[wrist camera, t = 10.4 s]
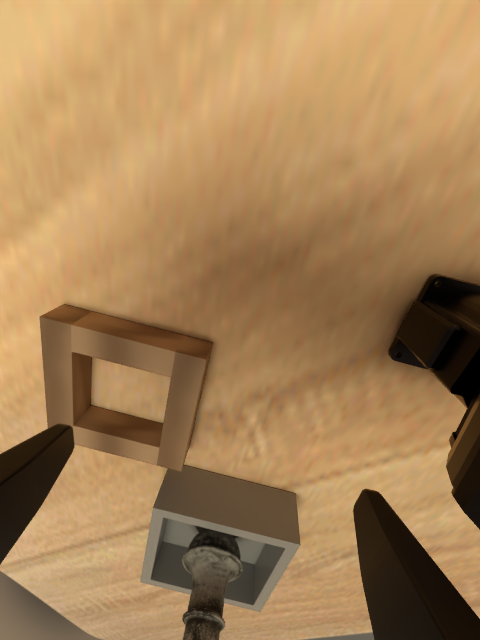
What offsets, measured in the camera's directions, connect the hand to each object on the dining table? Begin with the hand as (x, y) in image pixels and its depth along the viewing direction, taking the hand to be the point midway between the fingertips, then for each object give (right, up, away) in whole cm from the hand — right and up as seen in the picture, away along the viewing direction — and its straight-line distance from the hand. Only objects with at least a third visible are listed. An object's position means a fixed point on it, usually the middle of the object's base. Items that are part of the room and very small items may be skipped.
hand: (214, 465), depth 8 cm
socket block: (-9, -1, +16) cm, 18 cm away
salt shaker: (-1, -17, +21) cm, 27 cm away
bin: (-1, -17, +22) cm, 28 cm away
